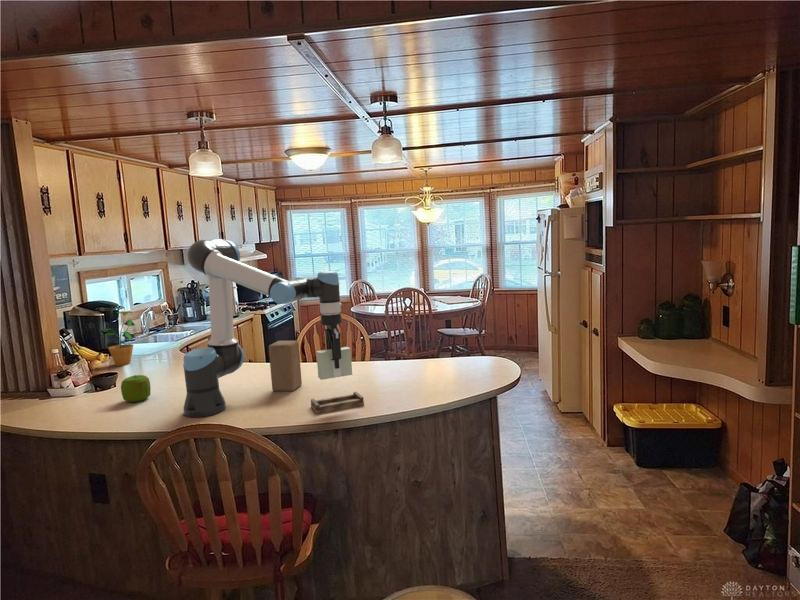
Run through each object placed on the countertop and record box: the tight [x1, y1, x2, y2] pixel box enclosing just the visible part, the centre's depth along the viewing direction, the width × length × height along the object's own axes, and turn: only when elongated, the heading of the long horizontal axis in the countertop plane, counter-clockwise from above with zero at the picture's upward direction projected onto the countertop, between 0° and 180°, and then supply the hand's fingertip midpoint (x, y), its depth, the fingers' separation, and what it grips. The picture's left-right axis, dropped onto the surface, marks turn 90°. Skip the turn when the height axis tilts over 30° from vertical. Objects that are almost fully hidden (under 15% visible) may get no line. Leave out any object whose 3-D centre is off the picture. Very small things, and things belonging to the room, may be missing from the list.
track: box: [310, 391, 365, 415], centre depth 199 cm, size 18×9×3 cm, turn 113°
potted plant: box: [98, 311, 136, 367], centre depth 292 cm, size 18×19×30 cm
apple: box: [120, 374, 151, 403], centre depth 221 cm, size 11×11×11 cm
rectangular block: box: [316, 346, 353, 381], centre depth 197 cm, size 12×4×10 cm, turn 113°
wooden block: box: [268, 339, 303, 392], centre depth 226 cm, size 10×10×20 cm
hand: (335, 375), depth 198 cm, fingers closed on rectangular block, 4 cm apart
